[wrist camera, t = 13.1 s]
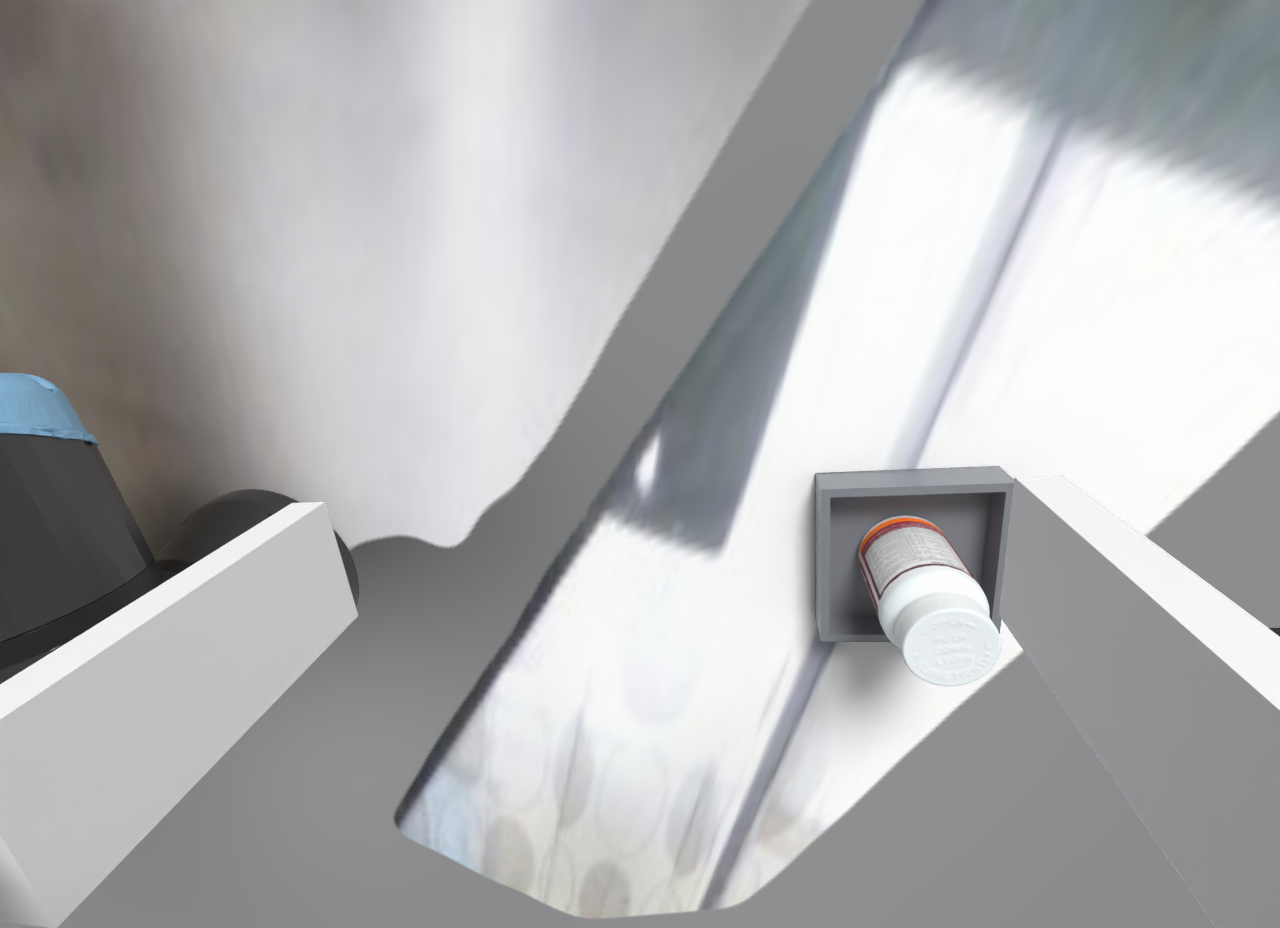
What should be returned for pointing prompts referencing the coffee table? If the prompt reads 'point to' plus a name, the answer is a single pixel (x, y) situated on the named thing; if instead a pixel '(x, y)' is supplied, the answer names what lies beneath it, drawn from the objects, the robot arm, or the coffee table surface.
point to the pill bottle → (928, 601)
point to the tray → (857, 501)
